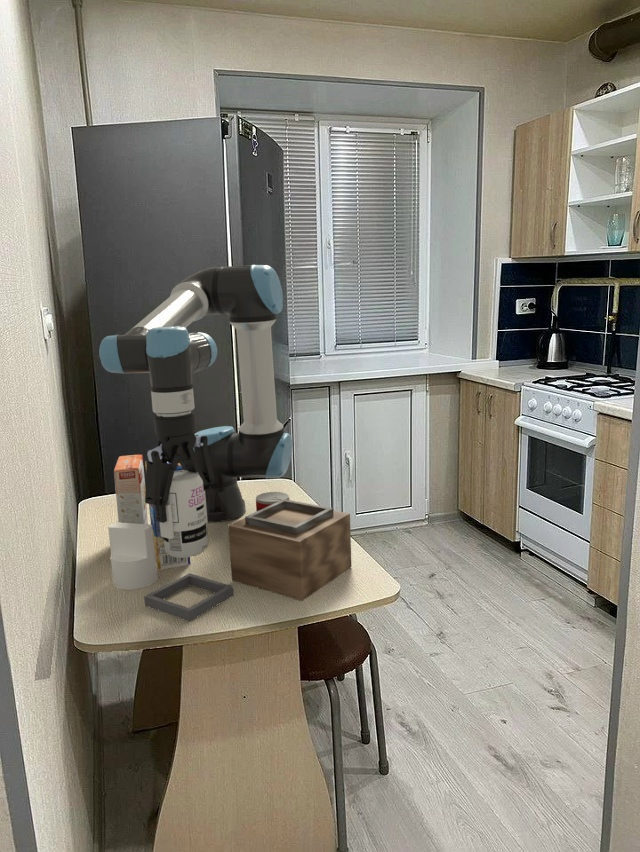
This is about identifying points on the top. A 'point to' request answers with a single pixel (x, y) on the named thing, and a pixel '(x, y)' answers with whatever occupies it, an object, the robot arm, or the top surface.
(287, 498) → the canned food
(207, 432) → the robot arm
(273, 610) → the top surface
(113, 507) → the top surface
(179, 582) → the base frame
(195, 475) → the supplement can
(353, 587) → the top surface
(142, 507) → the cracker box
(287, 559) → the riser block
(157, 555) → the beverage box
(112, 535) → the cylinder with rectangular tab
